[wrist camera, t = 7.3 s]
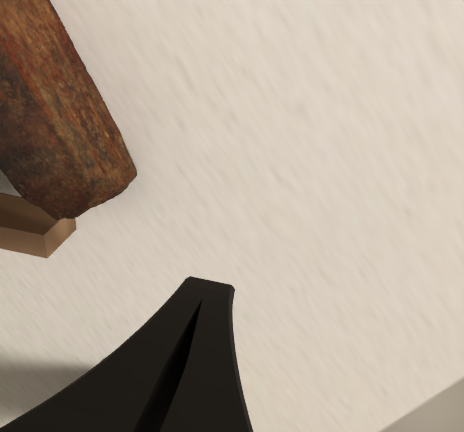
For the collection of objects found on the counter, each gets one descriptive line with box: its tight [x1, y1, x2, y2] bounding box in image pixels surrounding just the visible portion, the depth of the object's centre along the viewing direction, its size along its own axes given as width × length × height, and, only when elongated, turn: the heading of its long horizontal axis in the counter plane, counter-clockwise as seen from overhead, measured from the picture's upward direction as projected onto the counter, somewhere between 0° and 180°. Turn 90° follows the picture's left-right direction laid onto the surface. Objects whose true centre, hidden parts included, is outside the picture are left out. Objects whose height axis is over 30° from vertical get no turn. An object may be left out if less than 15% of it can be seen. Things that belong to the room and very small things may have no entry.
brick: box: [0, 0, 137, 220], centre depth 17 cm, size 11×4×5 cm, turn 22°
